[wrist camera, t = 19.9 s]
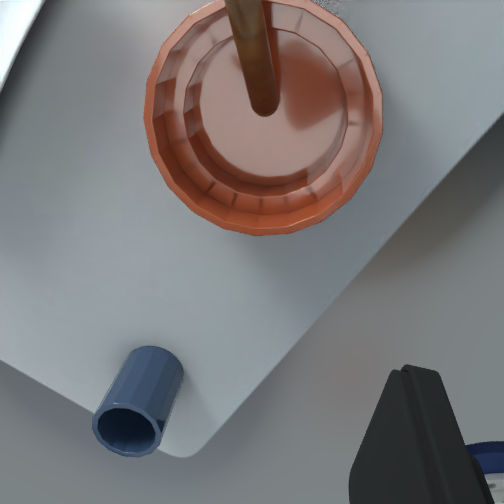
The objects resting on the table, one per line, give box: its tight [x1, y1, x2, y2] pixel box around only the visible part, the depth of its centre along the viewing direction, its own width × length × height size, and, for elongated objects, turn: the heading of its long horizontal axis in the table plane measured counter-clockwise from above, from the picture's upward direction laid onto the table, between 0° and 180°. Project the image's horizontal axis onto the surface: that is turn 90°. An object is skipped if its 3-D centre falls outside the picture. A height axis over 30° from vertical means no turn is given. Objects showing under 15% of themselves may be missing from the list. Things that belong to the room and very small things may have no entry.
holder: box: [92, 346, 184, 457], centre depth 44 cm, size 6×6×8 cm
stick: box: [224, 0, 279, 117], centre depth 28 cm, size 2×2×16 cm
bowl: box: [144, 0, 383, 236], centre depth 33 cm, size 15×15×6 cm
